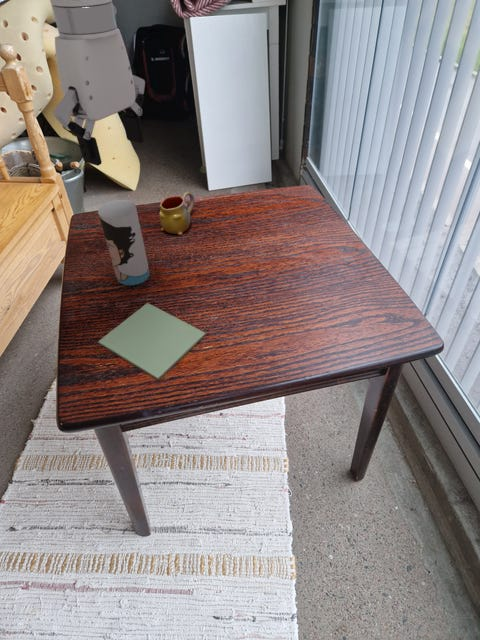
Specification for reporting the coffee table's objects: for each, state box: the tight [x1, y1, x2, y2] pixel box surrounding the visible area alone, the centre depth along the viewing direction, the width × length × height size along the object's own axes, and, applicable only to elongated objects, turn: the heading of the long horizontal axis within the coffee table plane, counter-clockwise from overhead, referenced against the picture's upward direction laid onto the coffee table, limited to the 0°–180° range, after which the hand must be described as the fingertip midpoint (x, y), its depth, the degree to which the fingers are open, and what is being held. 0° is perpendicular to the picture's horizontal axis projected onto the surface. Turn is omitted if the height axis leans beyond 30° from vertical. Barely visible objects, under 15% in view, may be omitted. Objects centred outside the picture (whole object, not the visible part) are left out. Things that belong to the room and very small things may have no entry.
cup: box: [97, 199, 151, 286], centre depth 81 cm, size 7×7×15 cm
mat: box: [97, 302, 207, 381], centre depth 72 cm, size 12×14×1 cm
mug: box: [159, 191, 195, 236], centre depth 98 cm, size 12×7×7 cm, turn 152°
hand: (115, 151), depth 66 cm, fingers open, 9 cm apart
